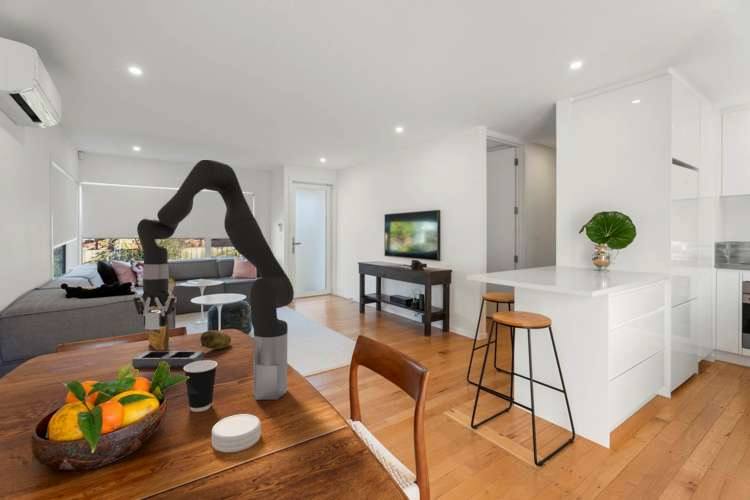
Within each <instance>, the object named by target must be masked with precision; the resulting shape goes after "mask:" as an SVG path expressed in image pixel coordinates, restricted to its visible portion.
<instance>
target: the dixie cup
mask: <svg viewBox="0 0 750 500" xmlns="http://www.w3.org/2000/svg"><path fill="white" fill-rule="evenodd" d="M217 366H218V362H216V361H215V360H209V359H207V360H205V359H204V360H203V361H197V362H192V363H190V364H187V365H186V366H185V367H184V368H182V369H183V371H184V376H185V377H186V376H189V377H190V378H189V379H187V380H186V379H185V384H186V389H187V390H186V391H187V400H188V406H189V407H190V411H191V412H204V411H207V410H208V409H210V408H211V407H212V403H213V399H214V391H215V389H214V388H215V381H216V374H217ZM210 406H211V407H210Z"/></svg>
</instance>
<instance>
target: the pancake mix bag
mask: <svg viewBox="0 0 750 500" xmlns="http://www.w3.org/2000/svg"><path fill="white" fill-rule="evenodd" d="M176 282H177V281H176V280H175V279H173V278H171V277H169V289H168V293H169V295H170V296H172V297H173V293H174V290H175V288H176V285H177V284H176ZM166 304H167V309H168V307H169V299H168V300H167V301H166ZM152 311H160V310H159V309H158V307H155V306H154V307H153V309H152ZM169 324H170V323H169V321H168V323H167V325H166V326H165V327H163V328H161V329H149V335H148V342H149V346H150V347H152V348H153V349H154V351H167V350H168V349H169V347H170V346H169V343H170V325H169Z"/></svg>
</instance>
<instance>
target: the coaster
mask: <svg viewBox="0 0 750 500" xmlns="http://www.w3.org/2000/svg"><path fill="white" fill-rule="evenodd" d="M261 425H262V424H261V420H260V418H259V417H257V416H255V415H254V414H250V413H240V414H234V415H231V416H227V417H225V418H222V419H219V421H218V422H217V423H215V424H214V425H213V427H212V429H211V446H212V448H213V449H214V450H216V451H218V452H221V453H236V452H240V451H243V450H246V449H248V448H251V447H253V446H254V445H256V443H257V442H258V441H259V440H260V438H261V435H262V434H261V430H262V427H261Z"/></svg>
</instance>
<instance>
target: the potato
mask: <svg viewBox="0 0 750 500" xmlns="http://www.w3.org/2000/svg"><path fill="white" fill-rule="evenodd" d="M231 341H232V337H231V336H230V335H229V334H227V333H223V332H219V331H217V330H213V329H211V330H206V331H204V332H203V333H201V335H200V343H201V347H205V348H207V349H214V350H217V349H219V350H223V349H222V348H224V349H226V348H228V347H229V346H230V345H231ZM225 347H226V348H225Z"/></svg>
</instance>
